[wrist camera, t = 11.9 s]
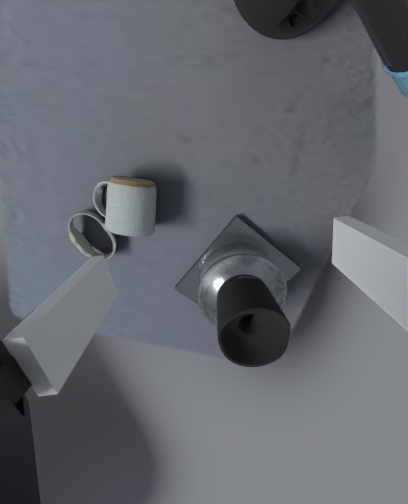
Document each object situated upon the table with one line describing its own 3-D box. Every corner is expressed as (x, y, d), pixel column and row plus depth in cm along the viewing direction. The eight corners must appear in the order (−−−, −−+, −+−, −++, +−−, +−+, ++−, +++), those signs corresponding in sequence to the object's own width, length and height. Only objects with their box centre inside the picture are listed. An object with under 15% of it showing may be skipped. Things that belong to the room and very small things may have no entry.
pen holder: (282, 292, 39) (308, 334, 30) (243, 328, 42) (256, 377, 33) (240, 259, 37) (254, 294, 28) (202, 299, 40) (203, 343, 30)
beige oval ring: (67, 218, 41) (51, 226, 37) (96, 201, 40) (83, 207, 36) (100, 260, 45) (88, 272, 40) (127, 245, 44) (119, 256, 39)
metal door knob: (235, 215, 42) (242, 226, 35) (298, 266, 45) (315, 285, 39) (175, 285, 47) (171, 307, 40) (236, 326, 51) (242, 352, 44)
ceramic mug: (161, 179, 39) (151, 184, 32) (158, 227, 42) (148, 241, 35) (96, 170, 39) (71, 173, 32) (97, 219, 42) (75, 232, 35)
